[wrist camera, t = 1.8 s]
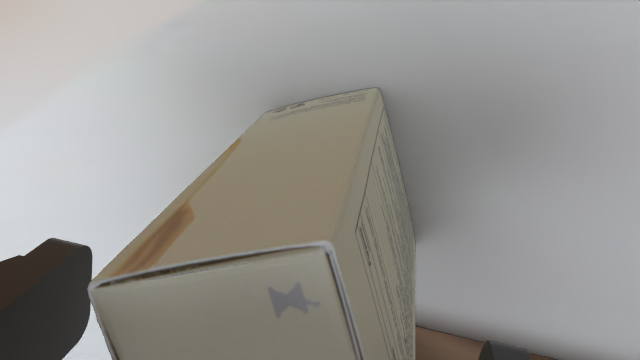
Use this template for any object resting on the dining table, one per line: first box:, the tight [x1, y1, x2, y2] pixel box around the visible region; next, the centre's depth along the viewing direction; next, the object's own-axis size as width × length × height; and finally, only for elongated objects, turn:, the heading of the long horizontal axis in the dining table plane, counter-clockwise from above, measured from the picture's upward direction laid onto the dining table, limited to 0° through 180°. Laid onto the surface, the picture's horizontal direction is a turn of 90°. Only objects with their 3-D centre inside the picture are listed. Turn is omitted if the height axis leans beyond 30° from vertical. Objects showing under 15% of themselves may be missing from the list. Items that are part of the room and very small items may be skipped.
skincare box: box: [87, 88, 416, 360], centre depth 15 cm, size 6×4×12 cm
